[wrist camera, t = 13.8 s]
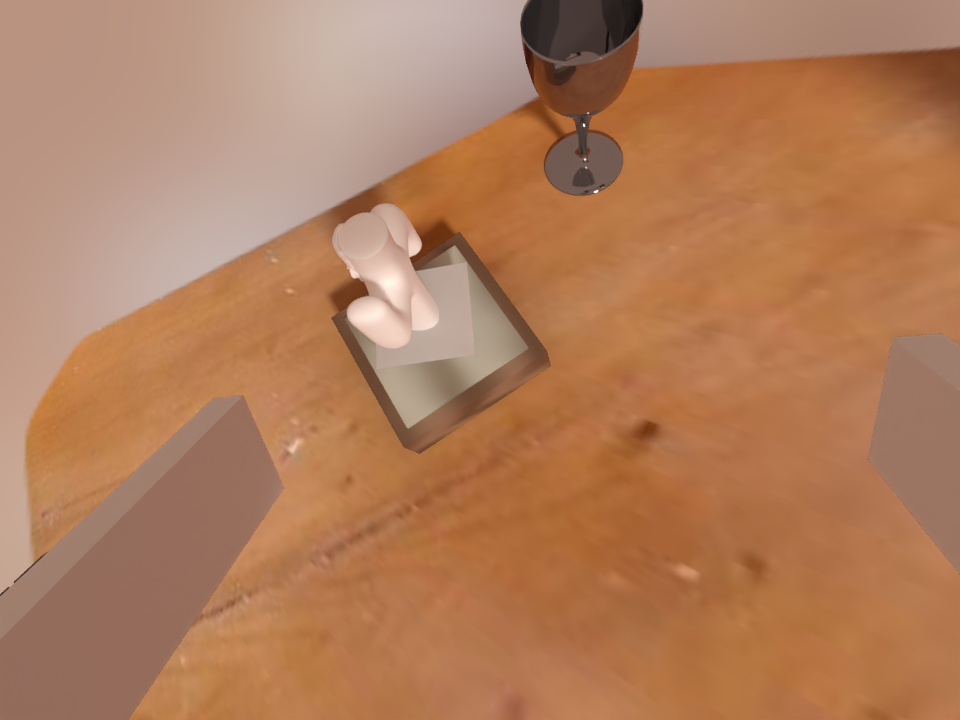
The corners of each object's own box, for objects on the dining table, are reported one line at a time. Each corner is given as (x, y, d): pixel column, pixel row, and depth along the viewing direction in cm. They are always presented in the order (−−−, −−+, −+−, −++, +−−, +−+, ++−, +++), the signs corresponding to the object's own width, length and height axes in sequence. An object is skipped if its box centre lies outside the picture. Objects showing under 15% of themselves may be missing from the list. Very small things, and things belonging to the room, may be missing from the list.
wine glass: (645, 170, 47) (669, 18, 33) (567, 214, 47) (557, 82, 33) (598, 112, 49) (601, -52, 35) (524, 154, 50) (499, 8, 36)
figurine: (475, 271, 42) (418, 145, 28) (486, 383, 39) (428, 305, 25) (391, 286, 43) (295, 172, 29) (394, 395, 40) (290, 327, 26)
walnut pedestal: (469, 254, 48) (458, 229, 44) (550, 366, 43) (546, 349, 39) (351, 333, 48) (329, 316, 44) (419, 453, 43) (402, 446, 39)
